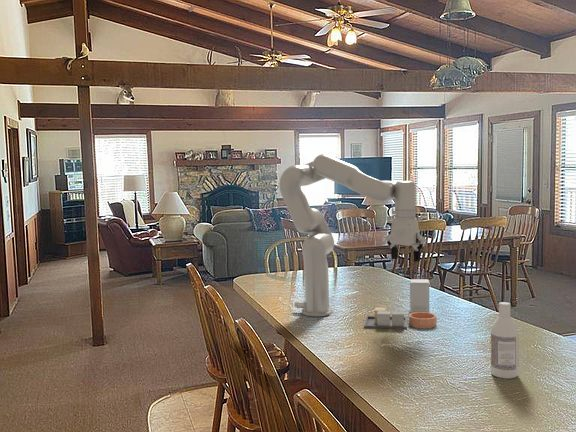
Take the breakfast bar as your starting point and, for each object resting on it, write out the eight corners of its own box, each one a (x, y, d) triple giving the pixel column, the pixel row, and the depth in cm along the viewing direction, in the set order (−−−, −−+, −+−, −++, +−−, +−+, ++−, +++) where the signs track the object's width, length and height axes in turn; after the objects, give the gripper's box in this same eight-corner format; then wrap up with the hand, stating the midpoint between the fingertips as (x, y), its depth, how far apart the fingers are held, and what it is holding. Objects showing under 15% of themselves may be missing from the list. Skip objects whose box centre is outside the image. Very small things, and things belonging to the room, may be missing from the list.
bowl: (409, 328, 198) (409, 318, 198) (409, 321, 208) (408, 311, 207) (437, 329, 196) (437, 319, 196) (435, 322, 206) (435, 312, 205)
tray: (364, 328, 199) (364, 325, 199) (366, 319, 212) (366, 316, 212) (407, 330, 196) (406, 326, 196) (406, 320, 209) (406, 317, 209)
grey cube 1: (377, 327, 199) (377, 313, 199) (377, 324, 203) (377, 311, 203) (390, 327, 198) (390, 314, 198) (390, 324, 202) (390, 311, 202)
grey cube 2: (392, 327, 198) (391, 314, 198) (392, 324, 202) (392, 311, 202) (404, 328, 197) (403, 314, 197) (404, 325, 201) (403, 311, 201)
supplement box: (429, 315, 215) (429, 282, 214) (410, 314, 217) (409, 282, 216) (428, 310, 223) (428, 279, 221) (409, 309, 224) (409, 278, 223)
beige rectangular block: (374, 323, 204) (374, 310, 204) (375, 320, 209) (375, 307, 208) (385, 324, 203) (385, 310, 203) (385, 320, 208) (385, 307, 207)
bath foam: (496, 368, 158) (496, 299, 156) (521, 373, 153) (522, 302, 152) (487, 375, 153) (487, 304, 151) (512, 381, 148) (513, 307, 146)
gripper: (379, 214, 210) (380, 259, 211) (420, 216, 197) (420, 263, 199) (391, 212, 215) (391, 256, 216) (431, 214, 203) (431, 261, 204)
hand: (405, 260), depth 208 cm, fingers open, 9 cm apart
